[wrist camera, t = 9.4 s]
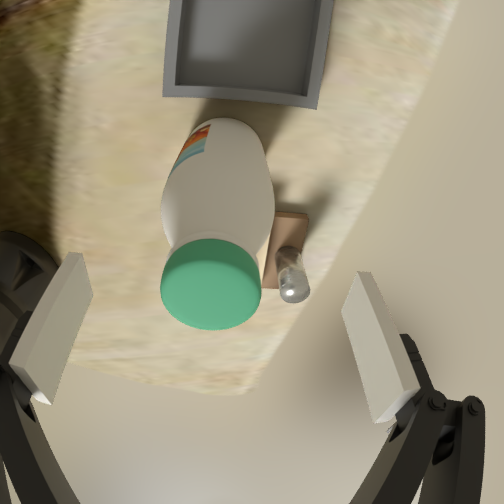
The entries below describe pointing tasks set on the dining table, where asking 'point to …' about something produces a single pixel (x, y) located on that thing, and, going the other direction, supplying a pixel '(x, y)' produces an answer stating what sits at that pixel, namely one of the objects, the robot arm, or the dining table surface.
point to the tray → (247, 50)
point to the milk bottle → (216, 225)
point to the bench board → (283, 242)
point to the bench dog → (291, 275)
